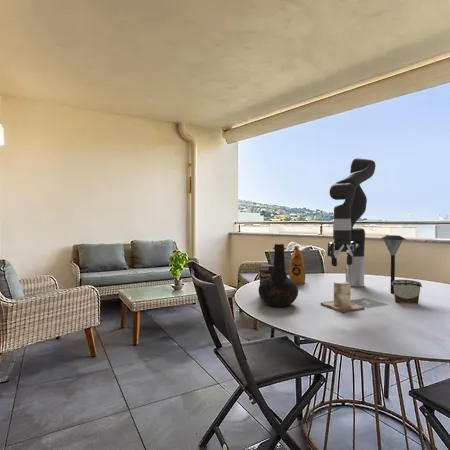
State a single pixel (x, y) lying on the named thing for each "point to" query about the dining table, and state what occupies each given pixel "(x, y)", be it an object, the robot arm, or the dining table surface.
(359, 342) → the dining table surface
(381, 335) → the dining table surface
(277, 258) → the glass bottle
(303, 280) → the coffee package
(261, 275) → the supplement box
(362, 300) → the tile
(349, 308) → the walnut board
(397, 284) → the food container
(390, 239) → the solar garden light
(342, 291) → the birch block
